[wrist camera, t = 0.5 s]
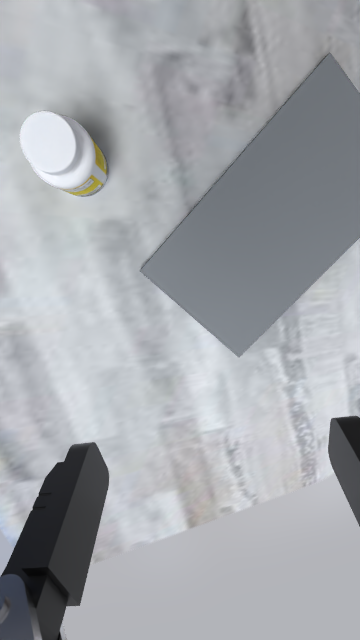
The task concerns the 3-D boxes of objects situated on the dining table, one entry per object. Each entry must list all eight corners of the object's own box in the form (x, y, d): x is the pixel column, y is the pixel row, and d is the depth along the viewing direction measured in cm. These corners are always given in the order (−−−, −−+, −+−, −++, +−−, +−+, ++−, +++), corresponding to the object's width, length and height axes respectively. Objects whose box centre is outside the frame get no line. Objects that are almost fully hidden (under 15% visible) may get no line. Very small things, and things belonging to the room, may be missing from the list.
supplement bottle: (66, 128, 30) (24, 81, 20) (116, 157, 31) (99, 124, 21) (46, 181, 31) (-2, 159, 21) (96, 207, 32) (70, 196, 22)
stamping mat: (236, 354, 38) (238, 357, 37) (140, 269, 34) (139, 271, 33) (412, 178, 33) (420, 177, 32) (324, 58, 30) (329, 52, 29)
